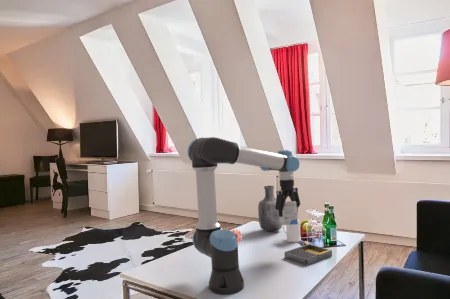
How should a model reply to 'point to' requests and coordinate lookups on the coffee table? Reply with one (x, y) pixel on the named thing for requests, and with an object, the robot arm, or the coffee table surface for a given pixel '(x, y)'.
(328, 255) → the tray
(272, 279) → the coffee table surface
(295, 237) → the mug
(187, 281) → the coffee table surface
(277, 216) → the vase
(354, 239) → the coffee table surface
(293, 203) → the ink box
